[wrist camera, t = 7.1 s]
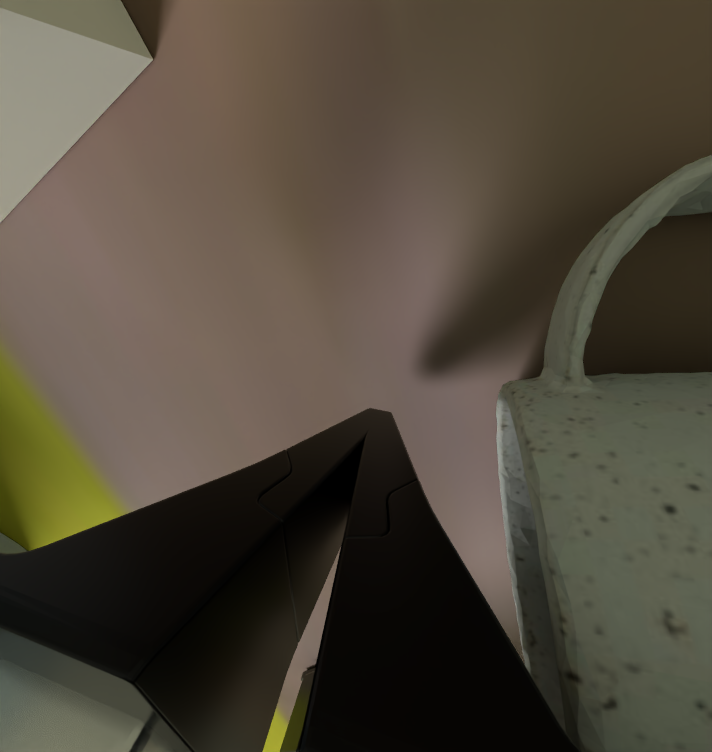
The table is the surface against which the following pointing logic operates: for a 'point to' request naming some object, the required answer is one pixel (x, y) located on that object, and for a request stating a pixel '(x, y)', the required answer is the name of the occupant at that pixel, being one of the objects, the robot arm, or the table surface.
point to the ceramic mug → (613, 516)
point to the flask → (9, 545)
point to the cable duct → (58, 81)
